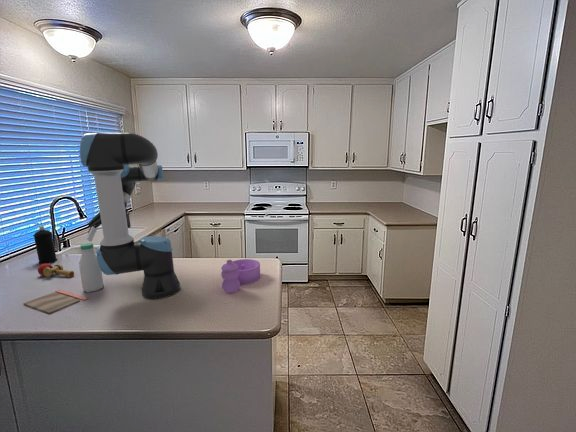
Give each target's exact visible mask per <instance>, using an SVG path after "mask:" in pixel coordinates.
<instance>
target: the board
mask: <svg viewBox="0 0 576 432" xmlns="http://www.w3.org/2000/svg"><path fill="white" fill-rule="evenodd" d="M79 302H81V300H80V299H77V298H74V297H70V296H67V295H64V294H61V293H57V292H55V291H53V292H50V293H48V294H45V295H43V296H40V297H37V298H35V299H32V300H28V301H26V302H23V305H24V306H26V307H29V308H31V307H32V309H34V308H35V309H34V310H37V311H40V312H43V313H46V314H48V313H49V314H48V315H51V314H54V313H56V312H58V311H61V310H63V309H65V308H68V307H70V306H72V305H74V304H78V303H79ZM53 312H54V313H53Z"/></svg>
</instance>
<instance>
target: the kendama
mask: <svg viewBox="0 0 576 432" xmlns="http://www.w3.org/2000/svg"><path fill="white" fill-rule="evenodd" d="M37 272H38V274H39V275H40V276H42V277H51V276H52V275H53V274H56V275H61V276H65V277H68V278H72V277H74V276H75V272H74V271H72V270H64V267H63V265H61V264H55V265H54V266H53V265H52V264H51V263H49V264H48V263H45V264H39V266H38V268H37Z"/></svg>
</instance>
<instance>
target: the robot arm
mask: <svg viewBox="0 0 576 432" xmlns="http://www.w3.org/2000/svg"><path fill="white" fill-rule="evenodd" d="M79 158H80V162H81V165H82V166H83V167H87V171H88V173H90V174H91V175H92V176H93V177H94V183H95V190H96V196H97V203H98V209H99V212H98V213H97V214H96V215H95V216H94V217H93V218H92V219H91V220H90V221H89V222H88V223H87V226H88V227H89V229H88V234H87V236H86V240H88V241H89V242H92V241H93V238H94V237H95V234H96V232H97V230H98V229H97V228H98V227H100V226H101V228H102V234H103V238H102V240H101V241H100V242H99V244H100V245H99V246H97V248H96V251H95V254H96V256H97V261H98V264H99V267H100V269H101V271H102V274H104V275H107V276H112V275H116V276H117V275H120V274H121V275H122V274H125V273H128V274H129V273H134V272H141V271H143V282H142V286H141V289H140V290H141V295H142V296H141V297H143V298H145V299H148V300H149V299H150V300H157V299H163V298H167V297H172V296H173V295H175V294H176V293H178V292H179V291H180V290H181V282H180V280H179V279H178V277H177V275H176V272H175V268H174V267H175V265H174V258H173V257H174V256H173V247H172V242H171V240H170V238H168V237H164V236H160V235H149V236H144V237H141V238H139V241H136V242H135V241H134V237H133V236H132V235H130V234H129V228H131V219H130V213H131V212H130V210H128V208H127V206H128V203H129V201H130V198H131V196H132V194H133V191H134V189H135V188H136V184H137V182H151V181H152V182H154V181H156V182H158V181H162V180H164V171H163V169H164V168H163V166H162V165H159V164H158V162H157V160H158V150H157V147H156V146H155V145H154V143H153V142H151V141H150V140H149V139H147V138H146V137H144V136H142V135H140V134H137V133H133V132H97V131H96V132H91V133H85V134H83V135H82V137H81V140H80V143H79Z"/></svg>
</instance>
